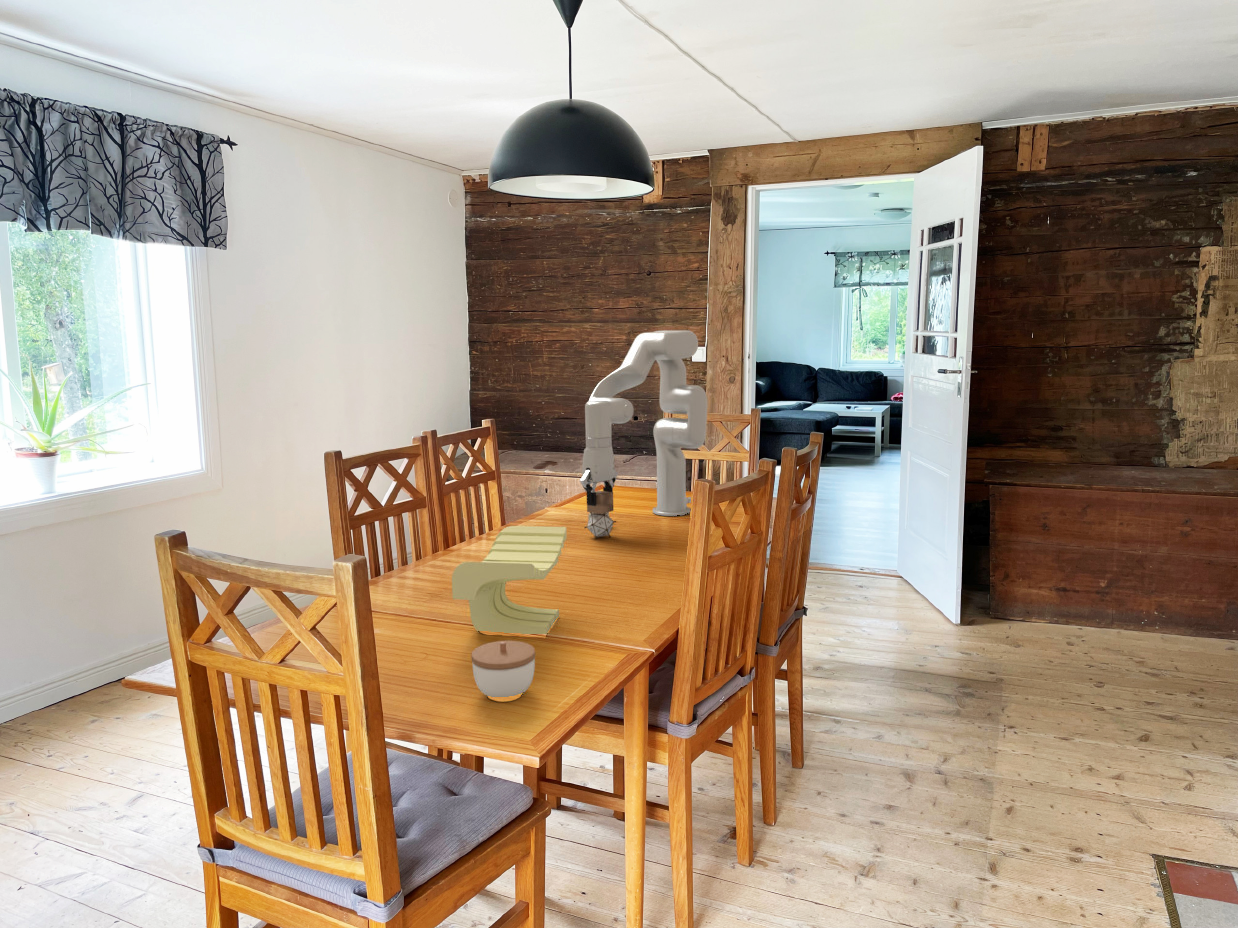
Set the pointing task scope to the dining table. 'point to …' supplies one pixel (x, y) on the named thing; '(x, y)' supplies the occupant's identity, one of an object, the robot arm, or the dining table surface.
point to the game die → (600, 524)
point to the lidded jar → (503, 667)
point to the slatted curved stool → (510, 579)
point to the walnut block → (602, 503)
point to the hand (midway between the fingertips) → (599, 502)
